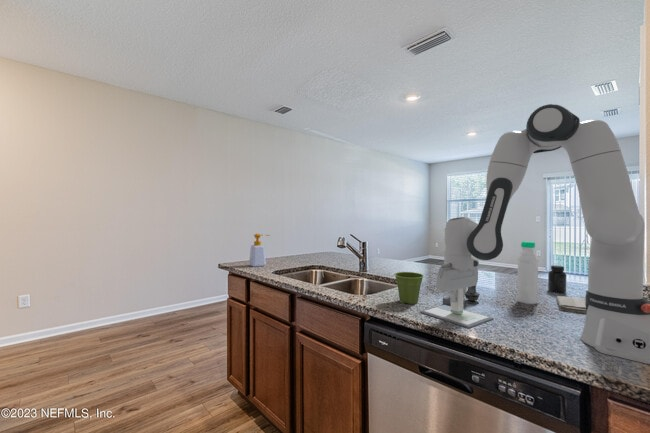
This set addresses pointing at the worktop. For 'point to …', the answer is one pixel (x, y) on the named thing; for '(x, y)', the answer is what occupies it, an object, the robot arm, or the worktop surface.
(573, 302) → the washcloth
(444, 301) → the button housing
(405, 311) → the worktop surface
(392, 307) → the worktop surface
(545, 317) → the worktop surface
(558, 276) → the supplement bottle
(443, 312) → the white rectangular board
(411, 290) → the plant pot
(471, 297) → the dark tiered figurine
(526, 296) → the water bottle
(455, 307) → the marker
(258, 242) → the soap bottle
